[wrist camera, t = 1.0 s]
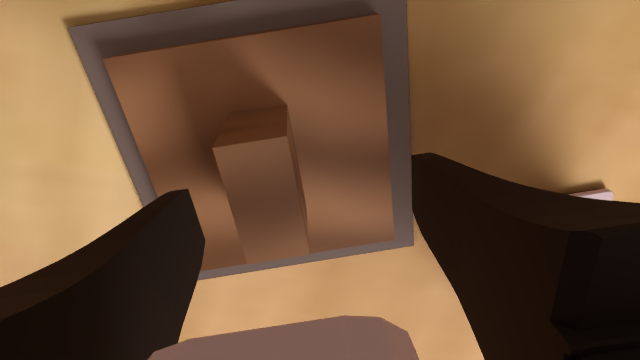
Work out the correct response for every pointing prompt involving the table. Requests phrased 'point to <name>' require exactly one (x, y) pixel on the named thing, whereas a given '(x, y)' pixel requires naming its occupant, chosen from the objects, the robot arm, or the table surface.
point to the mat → (243, 18)
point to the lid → (268, 136)
